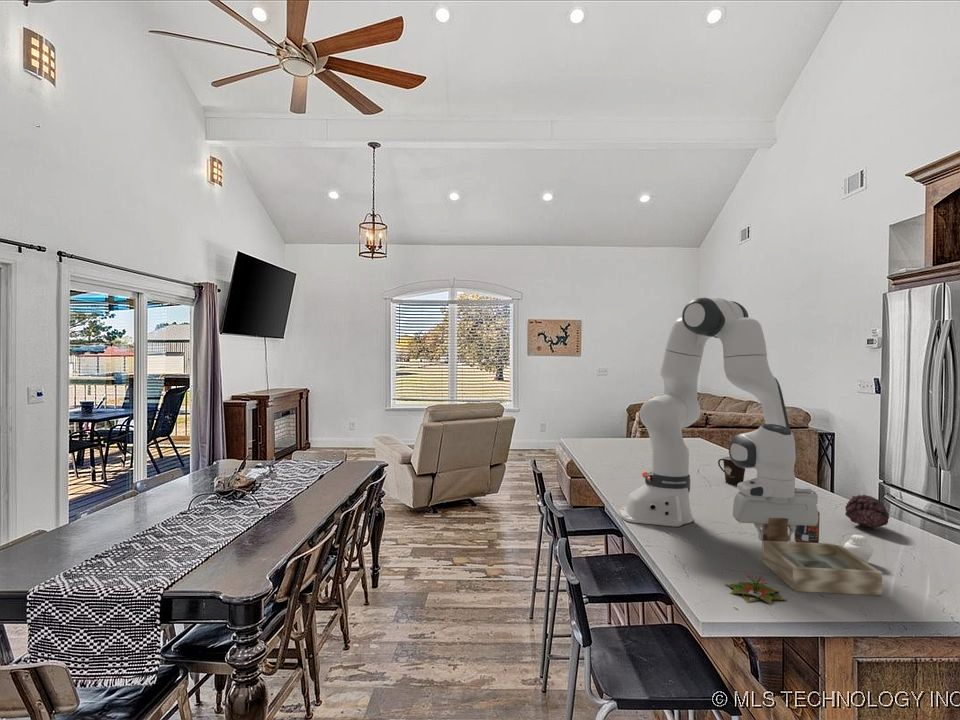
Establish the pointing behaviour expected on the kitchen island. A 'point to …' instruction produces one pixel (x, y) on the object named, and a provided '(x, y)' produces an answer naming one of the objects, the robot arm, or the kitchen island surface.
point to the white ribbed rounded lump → (859, 547)
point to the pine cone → (866, 511)
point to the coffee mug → (732, 471)
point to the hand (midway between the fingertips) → (774, 540)
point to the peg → (776, 529)
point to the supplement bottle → (807, 533)
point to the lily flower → (755, 590)
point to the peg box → (821, 568)
